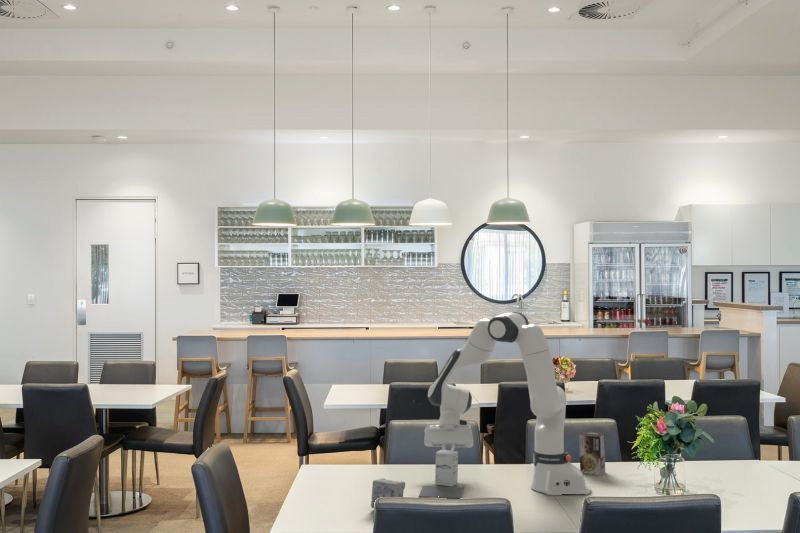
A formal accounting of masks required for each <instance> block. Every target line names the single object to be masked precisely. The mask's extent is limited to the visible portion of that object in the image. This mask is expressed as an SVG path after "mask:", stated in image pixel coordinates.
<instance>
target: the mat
mask: <svg viewBox="0 0 800 533" xmlns="http://www.w3.org/2000/svg"><path fill="white" fill-rule="evenodd" d="M463 493H464V486H453V487H451V486H443V485H435V486H434V485H422V487H421V489H420V490H419V494H418V498H427V497H438V496H439V497H442V498H441V499H454V498H462V499H463Z"/></svg>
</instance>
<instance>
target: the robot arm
mask: <svg viewBox="0 0 800 533" xmlns="http://www.w3.org/2000/svg"><path fill="white" fill-rule="evenodd" d="M497 342H500V343H501V342H502V343H510V344H511V343H512V344H513V343H514V342H515V343H516V345H518V348H519V351H520V354H521V358H522V363H523V366H524V369H525V374H526V379H527V387H528V394H529V400H530V403H529V404H530V405H529V406H530V411H531V412H532V413H533V415H534V416H536V420H535V422H536V423H535V427H534V450H533V454H532V456H533V458H532V459H533V466H534V468H533V469H534V470H533V475H532V476H533V477H532V482H531V485H530V488H531V489H532V490H534V491H536V492H539V493H543V494H546V495H548V496H563V495H562V494H585V495H590V494H591V493H592V488H591V485H590V484H589V483H587V482H586V481H585V476H584V473H582V472H581V471H580V468H578V467H576V466H575V464H573V463H571V461H572V456H571V455H570V453H568V452H567V451H566V450H565V441H564V440H565V439H564V438H565V434H564V432H565V422H566V421H565V420H566V412H567V411H566V408H567V395H566V392H565V390H564V389H563V388H562V387H560V386H559V385H557V379H556V369H555V365H554V361H553V358H552V354H551V350H550V347H549V343H548V341H547V338H546V336H545V334H544V332H543V330H542V328H541V326H539V325H537V324H531V323H530V324H529V320H528V317H527V316H526V315H525V314H523V313H522V312H518V311H517V312H516V311H513V312H504V313H500V314H497V315H495V316H493V317H492V318H491V319H490V318H481V319H479V320H478V321H477V322H476V323H475V325H474V327H473V328H472V330H471V332H470V333H469V336H468V339H467V341H466V342H465V344H463V345H462V346H461V347H460V348H458V349H455V350H454V351H453V352H452V353H451V354H450V356H449V357H448V360H447V361H446V362H445V364H444V366H443V367H442V369H441V370H440V372H439V374H437V375H438V376H436V379H434V381H433V382H432V383H431V384H430V387H429V388H428V391H427V399H428V401H429V402H430V404H431V405H432V406H437V407H439V412H440V414H439V415H440V416H439V419H438V424H436V425H434V424H433V425H432V424H431V425H430V424H429V425H426V426H425V428H424V431H423V432H424V437H423V438H424V439H423V443H424V446H426V447H433V448H434V447H438V448H439V447H441V450H448V451H455V448H469V449H470V448H472V447H473V446H474V437H473V431H472V426H471V422H470V421H467V420H465V419H462V418H461V415H464V414H465V413H467V412H468V411H469V410H470V409H471V406H472V402H473V401H472V400H473V397H472V393H471V391H470V390H469V389H466V388H463V387H461V386H456V385H452V384H450V383H448V382H449V381H450V379H451V377H452V376H453V374H454V373H455V371H457V370H458V369H460V368H464V367H472V366H474V367H475V366H479V365H480V366H481V365H483V364H485V363H486V362H487V361H489V359H490V358H491V355H492V354H493V351H494V348H495V346H496V344H497ZM447 448H450V449H447Z"/></svg>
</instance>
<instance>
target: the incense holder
mask: <svg viewBox="0 0 800 533" xmlns="http://www.w3.org/2000/svg"><path fill="white" fill-rule="evenodd" d="M371 487H372V488H371V501H370V503H371V504H370V507H371V508H372V509H375V508H374V502H375V500H376V499H377V498H380V497H403V498H404V490H405V488H406V482H405V481H402V480H401V481H397V480H396V481H395V480H391V479H390V480H389V479H386V478H382V477H381V478H379V479H378V478H377V479H373V480H372V486H371Z"/></svg>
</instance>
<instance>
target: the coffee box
mask: <svg viewBox="0 0 800 533" xmlns="http://www.w3.org/2000/svg"><path fill="white" fill-rule="evenodd" d="M578 437H579V439H578V440H579V470H580V471H581V472H582V473H583V474H585V473H589V474H588V475H592V474H595V475H594V476H603V475H604V474H605V473H606V445H605V444H606V441H605V440H606V439H605V438H606V437H605V433H601V432H600V433H599V432H591V431H590V432H589V431H583V432H581V433H580V434H579V435H578Z"/></svg>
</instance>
